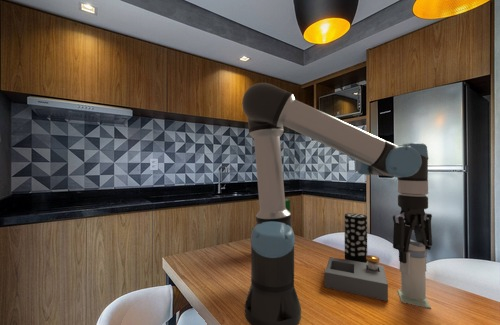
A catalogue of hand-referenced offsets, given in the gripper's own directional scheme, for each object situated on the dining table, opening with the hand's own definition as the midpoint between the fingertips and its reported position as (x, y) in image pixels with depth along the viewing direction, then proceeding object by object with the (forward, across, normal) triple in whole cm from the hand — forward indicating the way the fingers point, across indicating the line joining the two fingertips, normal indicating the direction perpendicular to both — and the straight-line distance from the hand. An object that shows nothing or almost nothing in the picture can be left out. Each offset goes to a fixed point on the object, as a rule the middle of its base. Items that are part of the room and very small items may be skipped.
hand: (413, 271), depth 70 cm
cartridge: (+7, 0, 0) cm, 7 cm away
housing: (+8, +10, -13) cm, 18 cm away
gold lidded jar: (+6, +3, -11) cm, 13 cm away
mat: (+8, 0, 0) cm, 8 cm away
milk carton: (+8, +23, -46) cm, 52 cm away
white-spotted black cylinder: (+9, -2, -24) cm, 26 cm away
